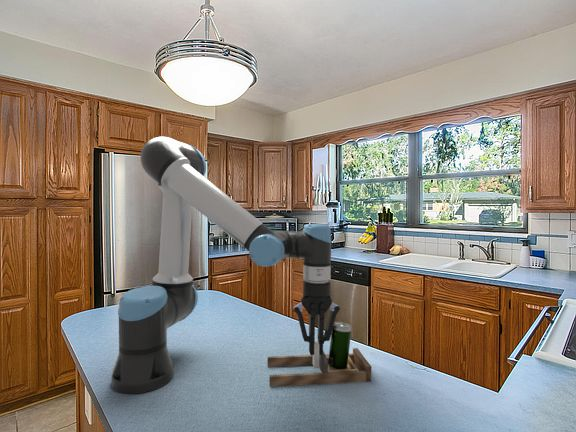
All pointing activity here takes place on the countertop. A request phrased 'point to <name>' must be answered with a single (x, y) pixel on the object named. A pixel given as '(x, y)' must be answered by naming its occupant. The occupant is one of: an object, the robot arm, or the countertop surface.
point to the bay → (318, 378)
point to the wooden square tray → (325, 368)
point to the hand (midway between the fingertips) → (315, 365)
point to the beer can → (339, 346)
